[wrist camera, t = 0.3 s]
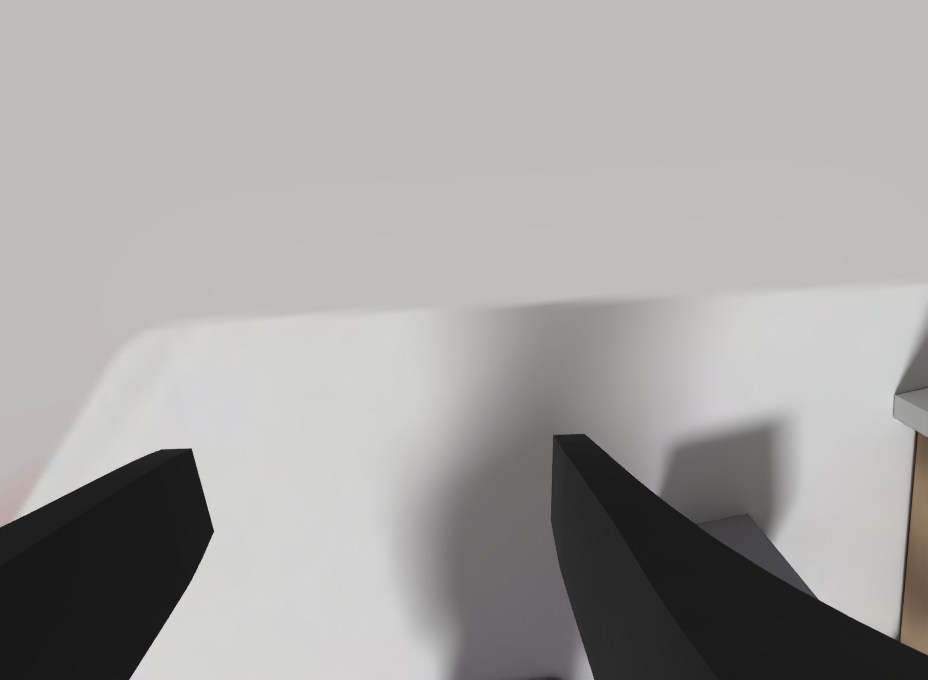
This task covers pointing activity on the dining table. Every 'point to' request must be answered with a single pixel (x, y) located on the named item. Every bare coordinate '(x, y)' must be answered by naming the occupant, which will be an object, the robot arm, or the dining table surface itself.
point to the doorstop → (754, 547)
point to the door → (917, 558)
